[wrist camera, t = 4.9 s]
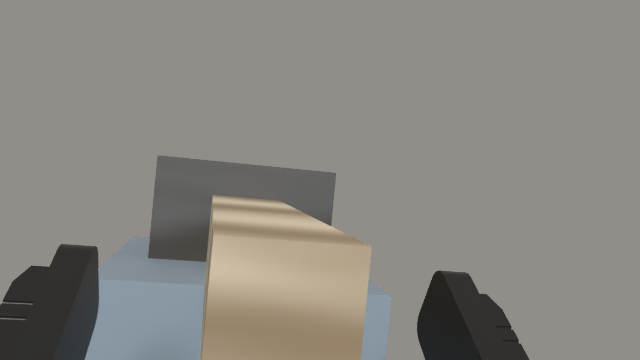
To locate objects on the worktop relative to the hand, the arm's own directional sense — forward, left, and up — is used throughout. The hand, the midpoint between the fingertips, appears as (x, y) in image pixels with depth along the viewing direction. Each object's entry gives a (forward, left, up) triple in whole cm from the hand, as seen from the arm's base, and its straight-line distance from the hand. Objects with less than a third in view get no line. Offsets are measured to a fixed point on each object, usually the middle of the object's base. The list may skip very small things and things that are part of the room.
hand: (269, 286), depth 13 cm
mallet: (0, +8, -2) cm, 8 cm away
